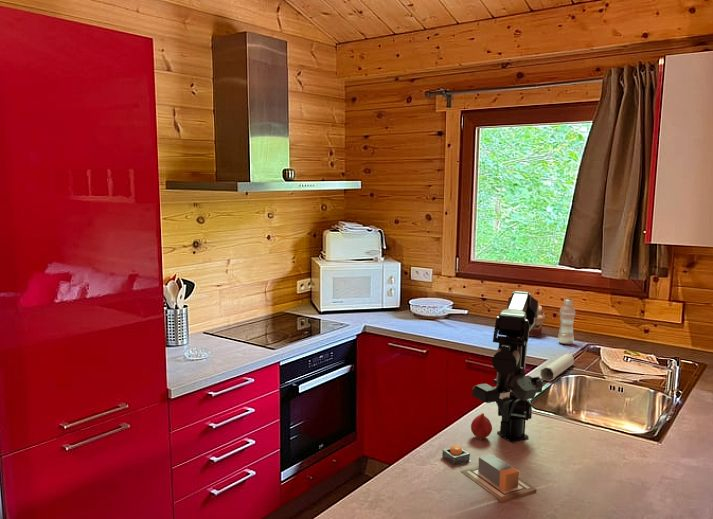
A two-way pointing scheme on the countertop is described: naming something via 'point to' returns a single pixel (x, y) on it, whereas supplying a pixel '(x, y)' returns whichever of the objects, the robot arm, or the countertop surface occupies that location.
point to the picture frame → (496, 490)
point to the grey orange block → (498, 472)
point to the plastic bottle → (566, 322)
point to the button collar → (455, 457)
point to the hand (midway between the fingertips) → (505, 420)
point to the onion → (481, 427)
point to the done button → (455, 450)
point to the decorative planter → (538, 323)
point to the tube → (556, 367)
